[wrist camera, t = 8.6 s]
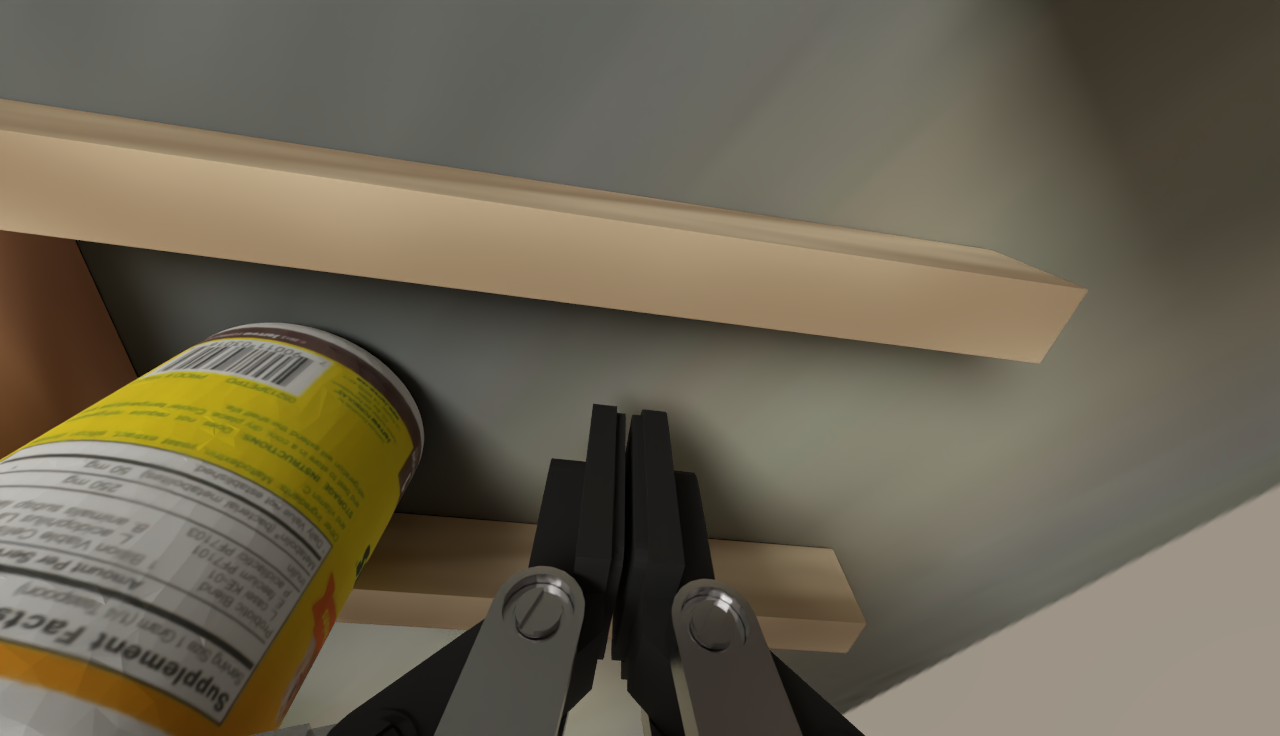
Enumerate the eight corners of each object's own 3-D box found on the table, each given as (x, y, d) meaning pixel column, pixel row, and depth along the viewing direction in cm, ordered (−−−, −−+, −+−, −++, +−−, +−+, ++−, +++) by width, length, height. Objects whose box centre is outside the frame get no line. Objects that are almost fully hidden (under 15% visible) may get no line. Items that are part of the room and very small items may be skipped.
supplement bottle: (328, 512, 14) (-179, 1239, 5) (149, 375, 11) (-1515, 1377, 2) (478, 441, 13) (149, 1235, 4) (314, 268, 10) (-1812, 1499, 1)
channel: (-83, 85, 8) (-493, 76, 5) (990, 250, 10) (1144, 312, 7) (154, 527, 14) (23, 645, 11) (817, 577, 16) (861, 690, 13)
